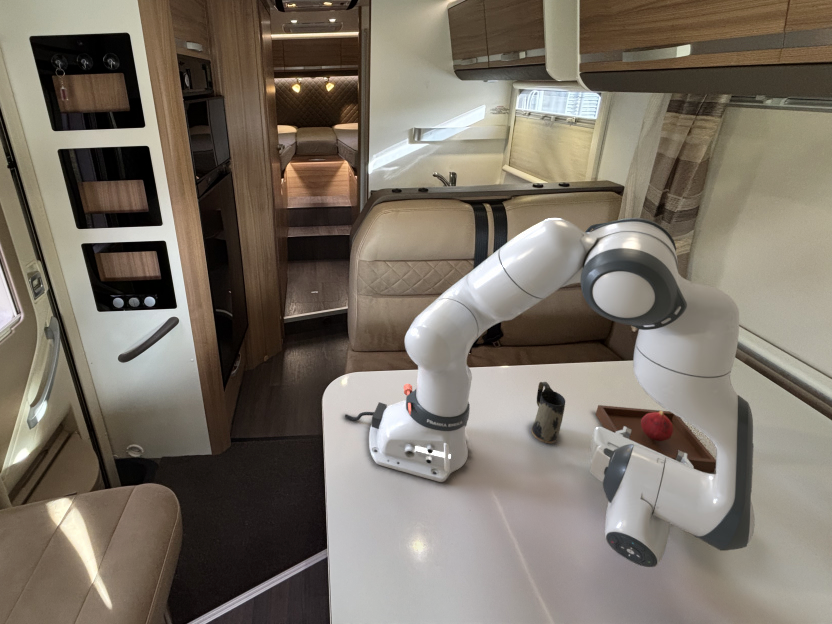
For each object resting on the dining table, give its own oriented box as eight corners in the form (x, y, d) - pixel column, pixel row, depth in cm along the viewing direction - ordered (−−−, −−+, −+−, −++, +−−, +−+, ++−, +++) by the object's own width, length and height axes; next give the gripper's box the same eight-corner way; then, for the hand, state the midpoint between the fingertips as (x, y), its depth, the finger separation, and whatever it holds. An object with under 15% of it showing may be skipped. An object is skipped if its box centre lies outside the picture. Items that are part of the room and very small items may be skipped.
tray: (625, 463, 94) (629, 453, 93) (595, 414, 107) (598, 404, 106) (713, 472, 92) (718, 462, 91) (671, 421, 105) (675, 411, 104)
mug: (562, 443, 99) (573, 403, 95) (539, 444, 99) (549, 404, 94) (544, 417, 106) (553, 379, 102) (522, 418, 106) (531, 380, 102)
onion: (673, 450, 96) (684, 423, 93) (644, 446, 97) (654, 420, 94) (659, 430, 101) (669, 404, 98) (632, 427, 102) (641, 401, 99)
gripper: (722, 509, 73) (723, 458, 83) (588, 444, 86) (602, 406, 95) (710, 534, 76) (712, 481, 85) (581, 467, 88) (595, 428, 98)
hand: (653, 441), depth 90 cm, fingers open, 8 cm apart
